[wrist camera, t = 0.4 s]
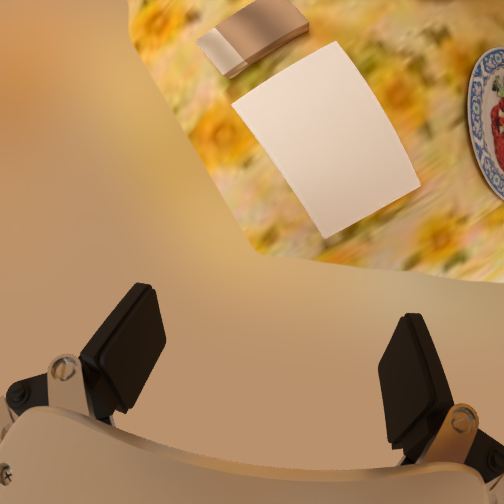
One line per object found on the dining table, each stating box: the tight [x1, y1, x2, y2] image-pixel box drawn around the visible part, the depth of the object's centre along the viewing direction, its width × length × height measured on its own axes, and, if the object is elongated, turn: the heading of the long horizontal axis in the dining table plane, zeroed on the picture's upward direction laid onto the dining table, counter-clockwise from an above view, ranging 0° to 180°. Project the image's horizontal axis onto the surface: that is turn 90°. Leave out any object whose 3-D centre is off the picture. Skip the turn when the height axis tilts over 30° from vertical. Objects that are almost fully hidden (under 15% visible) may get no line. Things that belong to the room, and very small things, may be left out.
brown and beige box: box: [195, 0, 309, 79], centre depth 25 cm, size 12×6×4 cm, turn 126°
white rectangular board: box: [231, 41, 421, 239], centre depth 32 cm, size 16×22×1 cm
